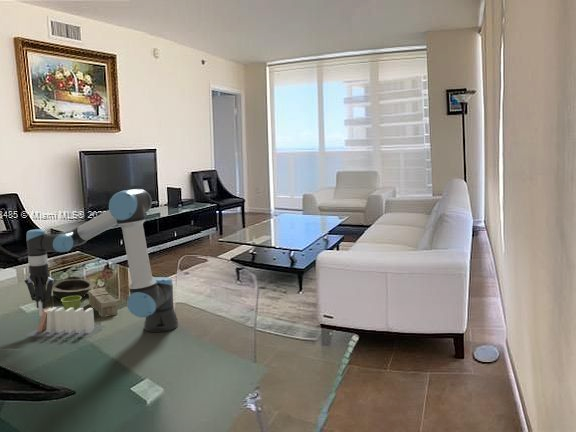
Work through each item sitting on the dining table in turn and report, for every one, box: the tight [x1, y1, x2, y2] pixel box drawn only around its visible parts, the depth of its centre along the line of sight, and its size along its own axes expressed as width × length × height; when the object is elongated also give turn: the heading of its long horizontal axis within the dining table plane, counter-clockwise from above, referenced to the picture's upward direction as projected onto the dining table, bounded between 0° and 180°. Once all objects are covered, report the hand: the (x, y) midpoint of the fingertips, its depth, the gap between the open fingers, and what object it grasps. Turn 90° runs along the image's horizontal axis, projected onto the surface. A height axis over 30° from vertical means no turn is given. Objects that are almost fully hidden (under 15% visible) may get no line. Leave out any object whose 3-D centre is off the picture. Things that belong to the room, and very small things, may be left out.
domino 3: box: [54, 307, 66, 333], centre depth 212 cm, size 2×5×10 cm, turn 177°
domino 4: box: [64, 308, 75, 333], centre depth 212 cm, size 2×5×10 cm, turn 177°
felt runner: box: [25, 324, 105, 338], centre depth 213 cm, size 30×14×1 cm, turn 87°
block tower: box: [88, 287, 119, 317], centre depth 243 cm, size 8×8×29 cm
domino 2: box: [46, 306, 58, 332], centre depth 213 cm, size 2×5×10 cm, turn 177°
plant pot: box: [60, 296, 83, 311], centre depth 234 cm, size 9×9×9 cm
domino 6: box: [84, 307, 95, 333], centre depth 212 cm, size 2×5×10 cm, turn 177°
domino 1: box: [36, 307, 52, 332], centre depth 213 cm, size 2×5×10 cm, turn 177°
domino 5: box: [74, 307, 85, 333], centre depth 212 cm, size 2×5×10 cm, turn 176°
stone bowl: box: [52, 276, 97, 300], centre depth 266 cm, size 25×25×9 cm
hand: (42, 315), depth 213 cm, fingers closed
